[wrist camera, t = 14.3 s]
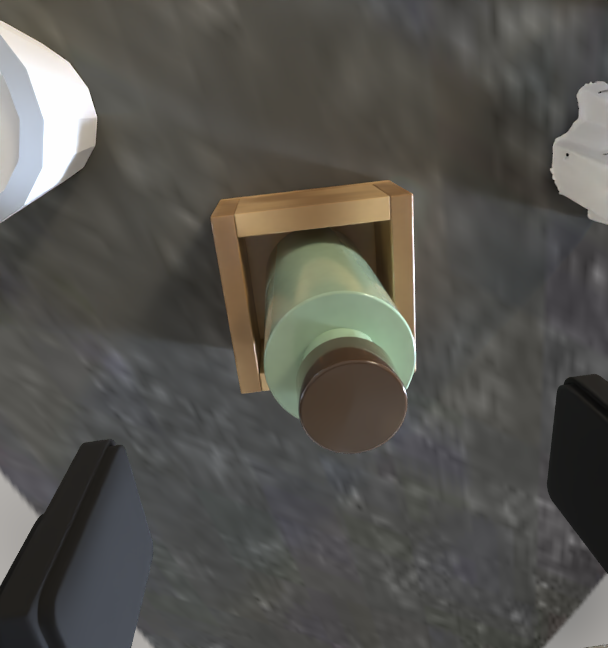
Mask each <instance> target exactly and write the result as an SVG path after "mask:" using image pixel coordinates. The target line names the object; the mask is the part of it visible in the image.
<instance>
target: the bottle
mask: <svg viewBox="0 0 608 648" xmlns="http://www.w3.org/2000/svg"><path fill="white" fill-rule="evenodd" d="M415 364H416V346H415V341H414V337H413V334H412V332H411V329H410V327H409V325H408V324H407V322H406V320H405V319H404V317H403V316H402V314H401V313H400V311H399V310H398V308H397V307H396V305H395V304H394V302H393V301H392V299H391V298H390V296H389V295H388V293H387V292H386V290H385V289H384V287H383V286H382V284H381V282H380V281H379V279H378V278H377V276H376V275H375V273H374V272H373V270H372V269H371V267H370V266H369V264H368V263H367V261H366V260H365V258H364V257H363V255H362V254H361V252H360V251H359V249H358V248H357V246H356V245H355V244H354V242H353V241H352V240H351V239H350V238H349V237H347V236H346V235H345V234H343V233H341V232H340V231H338V230H335V229H332V228H329V227H325V228H316V229H308V230H299V231H293V232H291V233H290V234H288V235H286V236H285V237H284V238H283V239H281V240H280V241H279V243H278V244H277V245H276V246H275V247H274V249H273V250H272V252H271V254H270V256H269V259H268V262H267V266H266V274H265V318H264V374H265V378H266V382H267V384H268V387H269V389H270V391H271V393H272V395H273V396H274V398H275V399H276V400H277V402H278V403H279V404H280V405H281V406H282V407H283V408H284V409H285V410H286V411H287V412H289V413H290V414H291V415H293V416H294V417H296V418H298V419H300V422H301V425H302V427H303V429H304V431H305V432H306V434H307V435H308V436H309V437H310V438H311V439H312V440H313V441H314V442H315V443H317V444H318V445H319V446H321V447H323V448H325V449H327V450H330V451H333V452H337V453H343V454H355V453H362V452H366V451H369V450H372V449H374V448H377V447H379V446H380V445H382V444H384V443H385V442H387V441H388V440H389V439H390V438H391V437H393V436H394V434H395V433H396V432H397V431H398V429H399V428H400V427H401V425H402V423H403V421H404V418H405V415H406V412H407V405H408V399H407V393H406V389H407V387H408V385H409V383H410V381H411V379H412V376H413V373H414V369H415Z"/></svg>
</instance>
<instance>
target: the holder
mask: <svg viewBox="0 0 608 648" xmlns="http://www.w3.org/2000/svg"><path fill="white" fill-rule="evenodd" d="M210 220H211V226H212V232H213V237H214V243H215V249H216V254H217V260H218V265H219V271H220V277H221V282H222V288H223V294H224V299H225V305H226V311H227V316H228V322H229V328H230V333H231V339H232V345H233V350H234V356H235V362H236V367H237V373H238V379H239V384H240V390H241V393H251V392H259V391H261V390H262V391H267V390H270V389H269V387H268V384H267V382H266V378H265V374H264V318H265V274H266V266H267V262H268V259H269V256H270V254H271V252H272V250H273V249H274V247H275V246H276V245H277V244H278V243H279V241H280V240H281V239H283V238H284V237H285V236H286V235H288V234H290V233H291V232H293V231H299V230H308V229H316V228H325V227H329V228H332V229H335V230H338V231H340V232H341V233H343V234H345V235H346V236H347V237H349V238H350V239H351V240H352V241H353V242H354V244H355V245H356V246H357V248H358V249H359V251H360V252H361V254H362V255H363V257H364V258H365V260H366V261H367V263H368V264H369V266H370V267H371V269H372V270H373V272H374V273H375V275H376V276H377V278H378V279H379V281H380V282H381V284H382V286H383V287H384V289H385V290H386V292H387V293H388V295H389V296H390V298H391V299H392V301H393V302H394V304H395V305H396V307H397V308H398V310H399V311H400V313H401V314H402V316H403V317H404V319H405V320H406V322H407V324H408V325H409V327H410V329H411V332H412V334H413V337H414V341H415V346H416V331H415V275H414V218H413V194H412V193H410V192H409V191H407V190H405V189H403V188H401V187H400V186H398V185H396V184H394V183H392V182H391V181H389V180H385V181H376V182H367V183H359V184H350V185H341V186H333V187H324V188H315V189H307V190H298V191H289V192H281V193H272V194H264V195H255V196H246V197H238V198H229V199H221V200H220V201H219V203H218V205H217V206H216V208H215V210H214V212H213V214H212V215H211V217H210ZM414 372H416V364H415V369H414Z"/></svg>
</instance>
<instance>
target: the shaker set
mask: <svg viewBox="0 0 608 648" xmlns="http://www.w3.org/2000/svg"><path fill="white" fill-rule="evenodd" d="M600 91H601V93H600V94H598V92H600ZM576 97H577V99H578V100H577V101H578V102H579V103H578V106H579V117H578V119H577V120H576V121H575V122H573V125H572V126H571V128H570V129H569V131H568V132H567V133H565V134H563V135H561V137H558V138H556V139H555V142H554V144H553V147H552V148H553V161H552V162H553V163H552V167H553V168H552V167H551V168H550V171H551V172H552V174H553V176H552V178H553V180H555V181H554V182H555V184H556V186H557V187H558V188H557V189H558V190H559V191H560V192H559V194H561V195H564V196H566V197H568V198H569V199H571V200H573V201H574V202H576V203H578V204H579V205H581V206H583V207H584V208H586V209H588V218H589V219H591V220H594V221H597V222H601V223H604V224H608V154H607V153H608V84H607V83H605V82H604V81H597V83H592V82H590V83H589V84H587V83H586V84H585V85H584V86H583V87H582V88H580V90H579V92H578V94H577V95H576ZM566 153H568V154H569V156H568V157H567V156H566ZM602 154H607V155H602Z"/></svg>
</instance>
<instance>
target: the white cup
mask: <svg viewBox="0 0 608 648" xmlns="http://www.w3.org/2000/svg"><path fill="white" fill-rule="evenodd" d="M96 129H97V115H96V112H95V108H94V105H93V102H92V99H91V96H90V92H89V89H88V87H87V86H86V85H85V83H84V82H83V81H82V79H81V78H80V76H79V75H78V74H77V72H76V71H75V70H74V68H73V67H72V66H71V64H70V63H69V62H68V61H66V60H65V59H64V58H62V57H61V56H59V55H58V54H56V53H55V52H54V51H52V50H51V49H49V48H48V47H46V46H45V45H43V44H42V43H40V42H38V41H37V40H35V39H33V38H31V37H29V36H28V35H26V34H24V33H22V32H20V31H19V30H17V29H15V28H13V27H12V26H10V25H8V24H6V23H4V22H3V21H1V20H0V223H1V222H3V221H4V220H6V219H7V218H9V217H10V216H12V215H14V214H15V213H17V212H18V211H20V210H21V209H23V208H24V207H26V206H27V205H29V204H30V203H32V202H33V201H35V200H37V199H38V198H40V197H41V196H43V195H44V194H46V193H47V192H49V191H50V190H52V189H53V188H55V187H57V186H58V185H60V184H61V183H63V182H64V181H66V180H67V179H68V178H70V177H71V176H72V175H74V174H75V173H77V172H78V171H79V170H81V169H82V168H84V166H85V164H86V162H87V160H88V158H89V156H90V154H91V152H92V151H93V149H94V147H95V144H96Z"/></svg>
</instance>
